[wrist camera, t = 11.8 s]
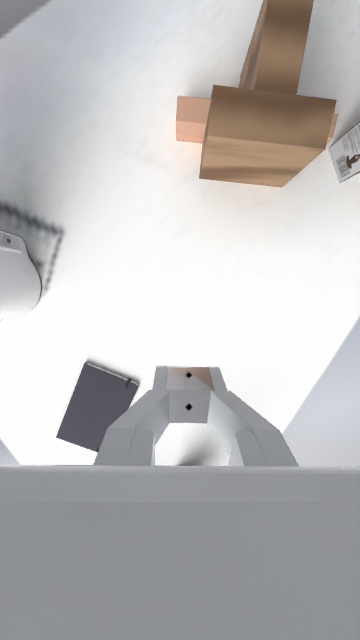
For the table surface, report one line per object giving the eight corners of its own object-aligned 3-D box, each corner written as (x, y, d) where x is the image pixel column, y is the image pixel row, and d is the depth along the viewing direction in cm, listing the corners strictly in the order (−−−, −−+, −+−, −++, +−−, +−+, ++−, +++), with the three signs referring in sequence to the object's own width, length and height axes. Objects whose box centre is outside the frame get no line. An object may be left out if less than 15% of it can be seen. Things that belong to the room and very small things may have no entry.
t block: (281, 187, 33) (325, 148, 23) (199, 178, 32) (208, 135, 23) (301, 82, 29) (362, -15, 20) (209, 70, 29) (225, -34, 19)
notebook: (87, 360, 41) (60, 432, 45) (84, 363, 39) (55, 437, 43) (140, 381, 42) (108, 449, 46) (138, 385, 40) (106, 455, 45)
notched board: (313, 155, 32) (332, 138, 28) (176, 140, 31) (176, 120, 27) (317, 134, 31) (337, 114, 27) (177, 118, 30) (177, 95, 26)
